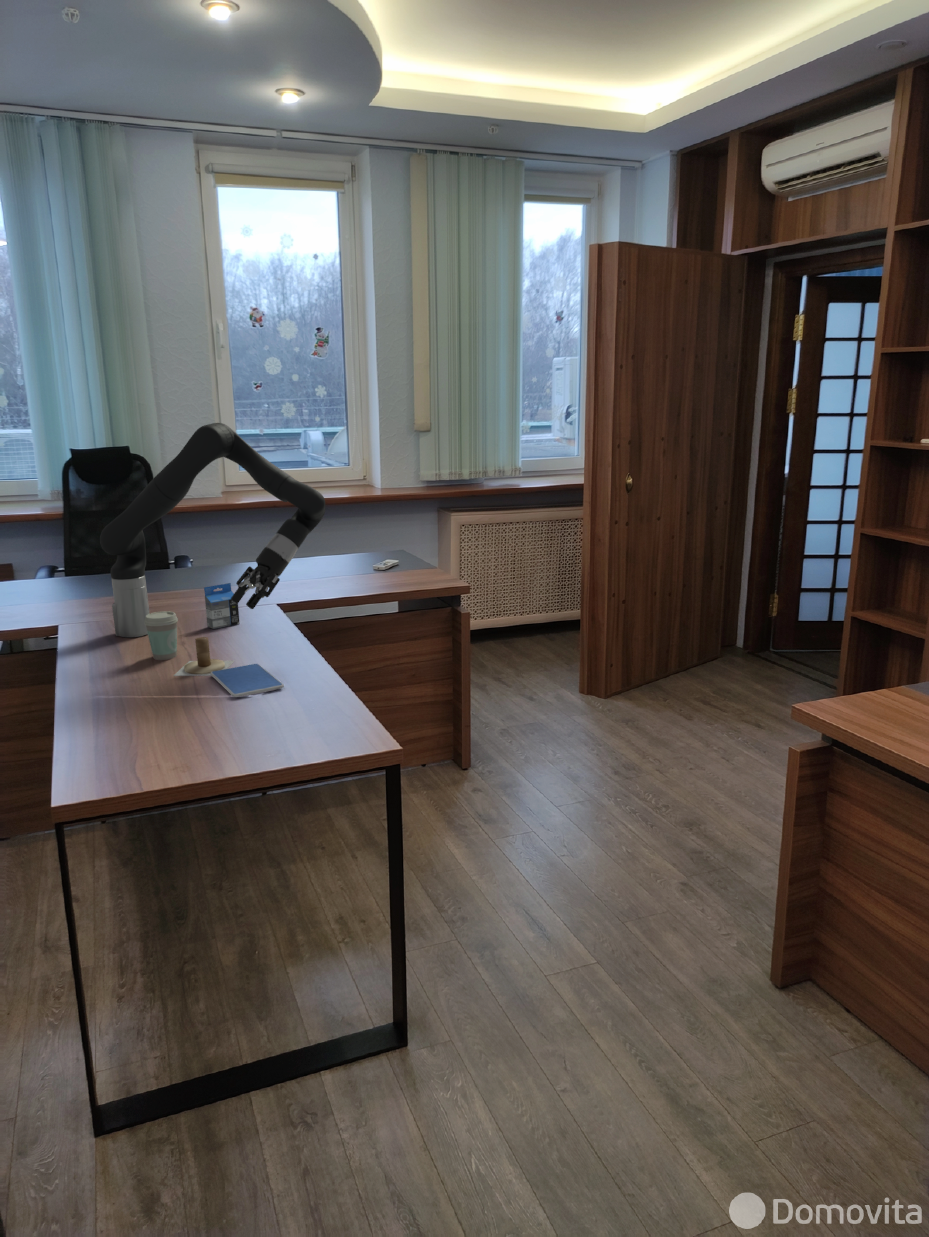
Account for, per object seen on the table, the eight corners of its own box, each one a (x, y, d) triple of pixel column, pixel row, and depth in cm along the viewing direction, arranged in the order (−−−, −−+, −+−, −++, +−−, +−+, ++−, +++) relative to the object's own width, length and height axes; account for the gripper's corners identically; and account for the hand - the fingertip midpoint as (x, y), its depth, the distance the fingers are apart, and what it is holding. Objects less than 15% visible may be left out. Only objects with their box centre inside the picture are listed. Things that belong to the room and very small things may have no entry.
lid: (178, 674, 221) (175, 644, 218) (192, 662, 230) (189, 633, 228) (217, 674, 220) (214, 644, 218) (229, 661, 230) (227, 633, 228)
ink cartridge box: (212, 629, 262) (208, 589, 259) (207, 627, 265) (203, 587, 261) (240, 624, 267) (236, 584, 264) (234, 621, 270) (230, 582, 267)
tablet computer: (209, 675, 219) (209, 670, 218) (258, 666, 225) (258, 661, 225) (233, 700, 203) (233, 694, 203) (285, 689, 209) (285, 684, 209)
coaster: (173, 677, 220) (173, 675, 220) (189, 662, 231) (189, 660, 231) (220, 676, 219) (220, 675, 219) (234, 662, 231) (234, 660, 231)
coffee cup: (171, 663, 231) (166, 619, 227) (142, 662, 232) (136, 618, 229) (188, 653, 239) (183, 611, 236) (159, 652, 240) (154, 610, 237)
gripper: (254, 543, 236) (218, 591, 231) (281, 549, 225) (244, 601, 221) (273, 559, 240) (238, 607, 236) (300, 566, 230) (264, 617, 226)
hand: (241, 604), depth 229 cm, fingers open, 8 cm apart
